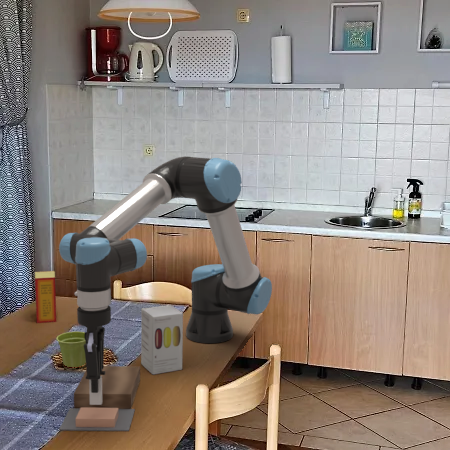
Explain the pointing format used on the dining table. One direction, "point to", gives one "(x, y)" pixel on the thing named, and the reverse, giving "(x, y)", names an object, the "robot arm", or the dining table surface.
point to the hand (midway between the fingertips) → (96, 403)
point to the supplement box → (161, 339)
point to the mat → (121, 425)
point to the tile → (97, 417)
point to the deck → (111, 388)
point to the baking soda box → (45, 296)
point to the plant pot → (72, 348)
